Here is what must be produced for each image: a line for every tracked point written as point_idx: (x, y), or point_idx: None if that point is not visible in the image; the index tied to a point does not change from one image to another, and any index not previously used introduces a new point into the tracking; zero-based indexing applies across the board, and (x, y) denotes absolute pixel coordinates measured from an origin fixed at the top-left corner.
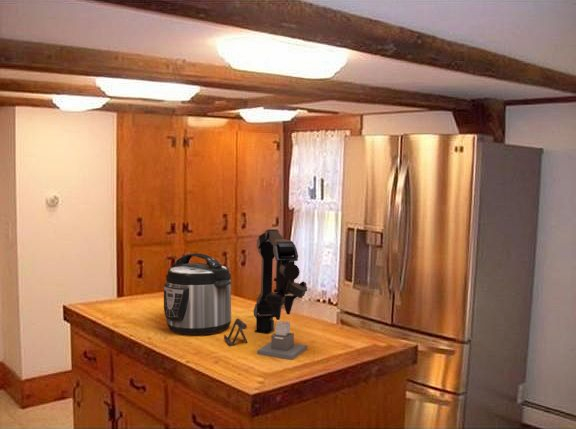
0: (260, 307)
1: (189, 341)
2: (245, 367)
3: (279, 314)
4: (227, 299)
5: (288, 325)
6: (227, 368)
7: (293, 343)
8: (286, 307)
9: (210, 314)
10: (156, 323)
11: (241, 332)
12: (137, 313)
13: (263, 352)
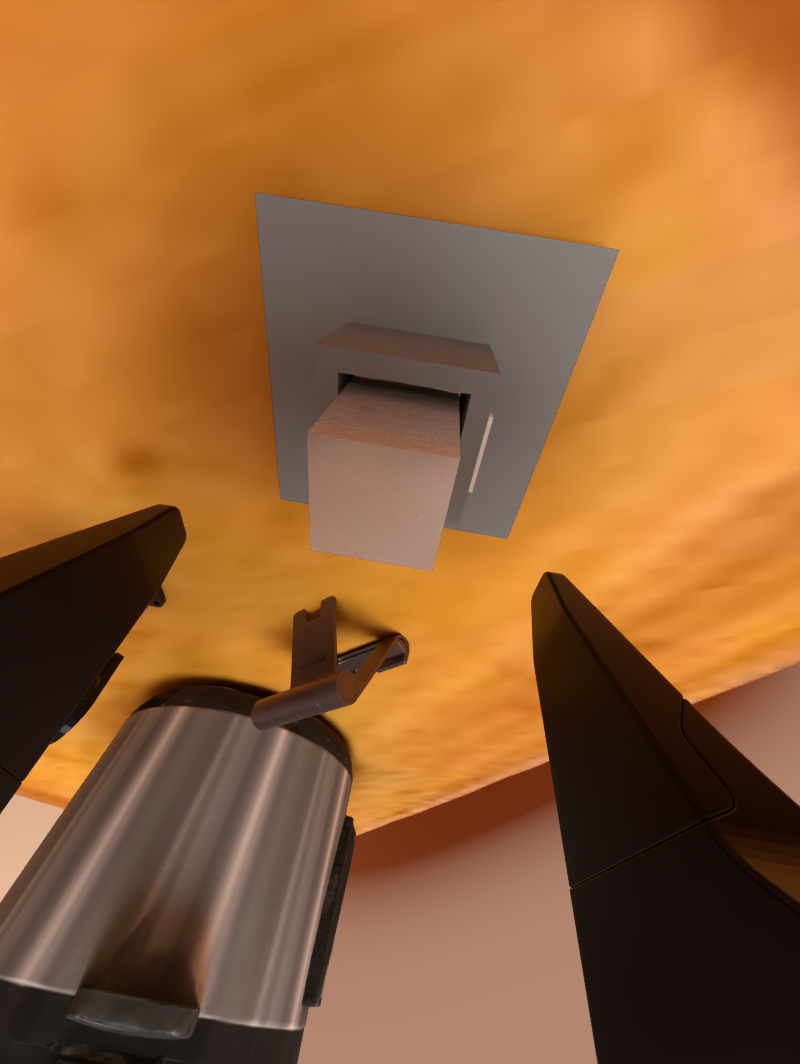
0: (74, 712)
1: (401, 734)
2: (763, 528)
3: (633, 647)
4: (149, 836)
5: (365, 426)
6: (763, 596)
7: (346, 326)
8: (113, 619)
9: (287, 799)
10: None
11: (312, 655)
12: None
13: (519, 498)
